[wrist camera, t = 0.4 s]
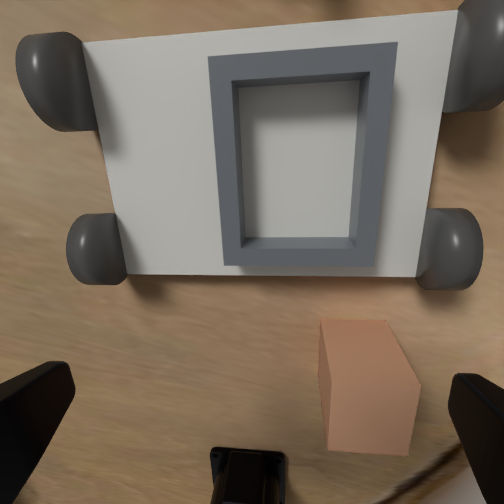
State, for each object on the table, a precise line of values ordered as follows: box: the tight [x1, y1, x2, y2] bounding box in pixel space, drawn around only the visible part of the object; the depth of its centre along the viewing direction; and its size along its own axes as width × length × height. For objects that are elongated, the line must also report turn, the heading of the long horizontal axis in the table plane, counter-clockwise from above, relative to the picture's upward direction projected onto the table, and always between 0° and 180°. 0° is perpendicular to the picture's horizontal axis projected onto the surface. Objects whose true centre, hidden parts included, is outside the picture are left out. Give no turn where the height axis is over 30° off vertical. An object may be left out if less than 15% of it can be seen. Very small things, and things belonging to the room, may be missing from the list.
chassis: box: [15, 0, 504, 290], centre depth 16 cm, size 13×21×4 cm, turn 92°
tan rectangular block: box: [318, 319, 421, 456], centre depth 19 cm, size 5×4×6 cm
